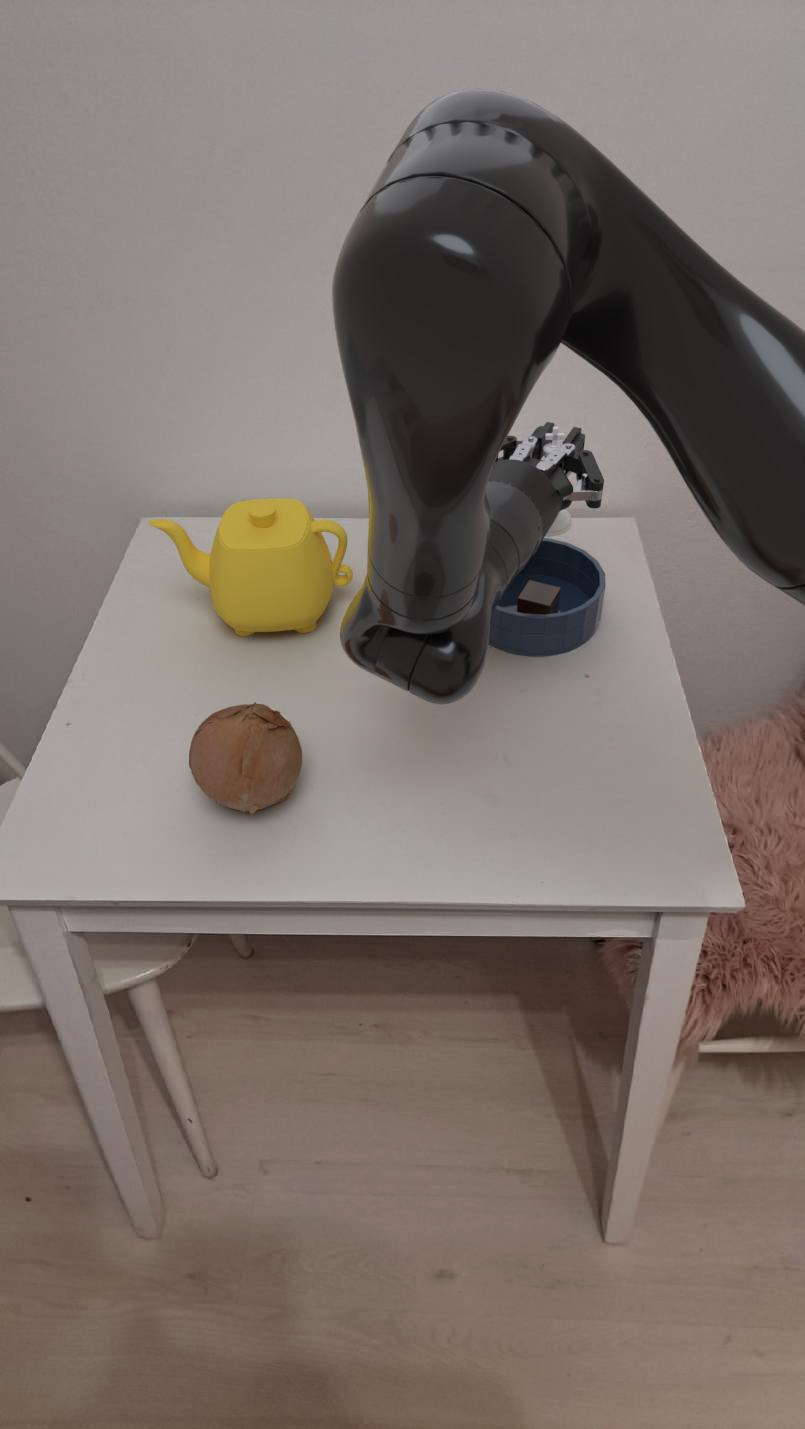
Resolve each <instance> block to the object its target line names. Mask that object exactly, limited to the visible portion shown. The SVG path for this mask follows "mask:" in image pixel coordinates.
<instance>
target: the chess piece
mask: <svg viewBox="0 0 805 1429" xmlns="http://www.w3.org/2000/svg"><path fill="white" fill-rule="evenodd" d="M545 440H552V443H548V444H546V445H544V446H543V454H544V456H543V458H544V459H545V458H546V457H547V456H548V455H549V454H550V453H551V452H552V451H553V450H558V449H559V448H560V447H561V446H562V444H561V443H559V442H558V441H561V440H562V441H564V440H565V433H564V432H559V426H554V427H553V432H552V433H546V434H545ZM572 526H573V525H572V515H571V514H570V512H569V511H568V510H567V509H564V510H562V511H560V512H559V513H558V515H557V517H556V519H555V521H554V523H553V524H552V526H551V527H550V529H549V531H548V532H547V534H546V535H545V537H544V538H550V537H558V536H562V535H564V534H566V533H567V532H569V531H570V529H572Z"/></svg>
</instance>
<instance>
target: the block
mask: <svg viewBox="0 0 805 1429" xmlns="http://www.w3.org/2000/svg"><path fill="white" fill-rule="evenodd" d="M560 592H561V588H560V587H556V586H552V585H548V584H544V583H540V582H536V581H532V580H529V581H528V583H527V584H526V586H525V588H524V589H523V591H522V592H521V594H520V596H519V597H518V602H517V612H520V613H524V614H541V615H546V614H553V613H558V609H559V601H560Z"/></svg>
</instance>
